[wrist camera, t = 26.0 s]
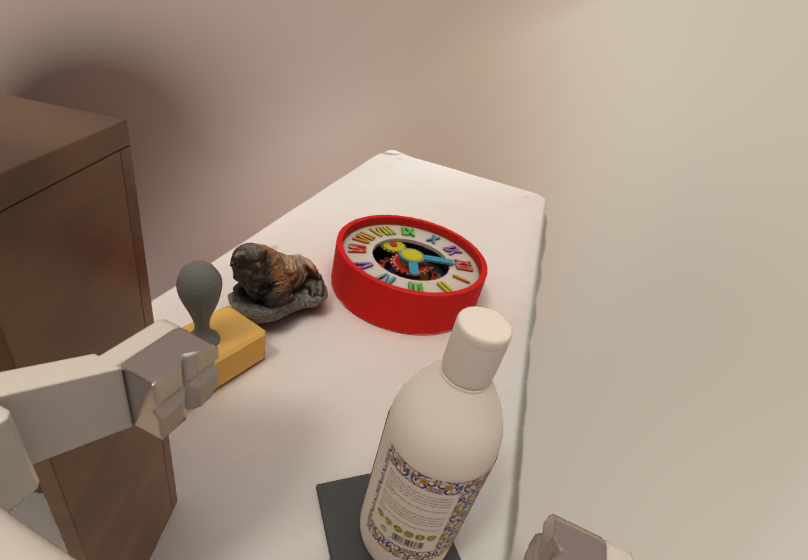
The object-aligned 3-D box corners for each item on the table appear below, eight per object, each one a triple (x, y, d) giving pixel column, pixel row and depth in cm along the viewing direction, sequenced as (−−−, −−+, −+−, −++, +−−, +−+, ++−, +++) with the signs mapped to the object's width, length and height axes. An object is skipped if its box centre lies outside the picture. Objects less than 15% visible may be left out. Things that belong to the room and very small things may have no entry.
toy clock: (341, 205, 64) (472, 227, 68) (336, 240, 67) (461, 259, 71) (330, 282, 48) (504, 306, 51) (324, 323, 51) (488, 344, 54)
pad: (465, 577, 31) (467, 574, 31) (342, 618, 28) (343, 616, 28) (419, 465, 38) (420, 462, 38) (315, 487, 35) (316, 484, 34)
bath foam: (457, 579, 31) (575, 380, 20) (358, 579, 30) (428, 365, 19) (442, 486, 37) (528, 291, 26) (358, 482, 35) (412, 276, 25)
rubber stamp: (174, 417, 37) (161, 304, 31) (134, 381, 39) (114, 268, 33) (266, 358, 45) (271, 258, 38) (228, 330, 47) (226, 231, 40)
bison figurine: (300, 280, 57) (306, 209, 52) (338, 307, 54) (350, 235, 49) (215, 316, 48) (212, 236, 43) (256, 351, 45) (258, 269, 40)
